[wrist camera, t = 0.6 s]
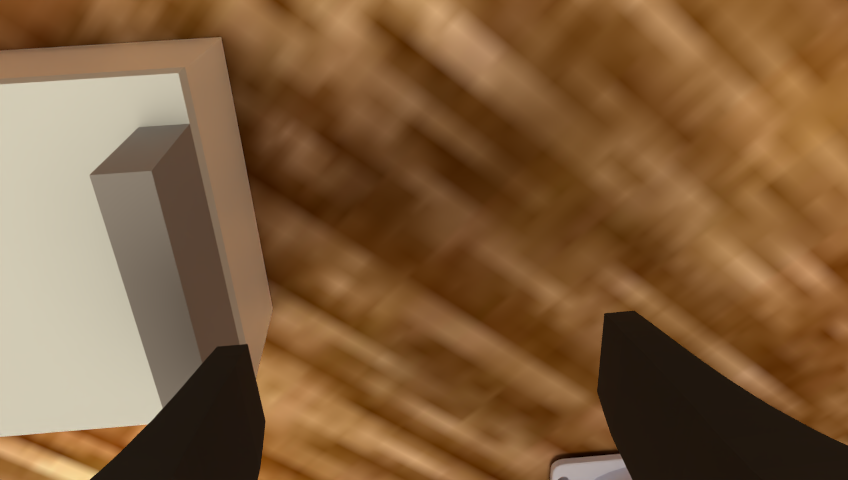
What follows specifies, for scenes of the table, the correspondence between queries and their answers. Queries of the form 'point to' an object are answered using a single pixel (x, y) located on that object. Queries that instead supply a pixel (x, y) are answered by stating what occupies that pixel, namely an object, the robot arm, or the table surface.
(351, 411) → the table surface
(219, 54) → the box
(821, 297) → the table surface
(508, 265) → the table surface
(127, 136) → the lid
